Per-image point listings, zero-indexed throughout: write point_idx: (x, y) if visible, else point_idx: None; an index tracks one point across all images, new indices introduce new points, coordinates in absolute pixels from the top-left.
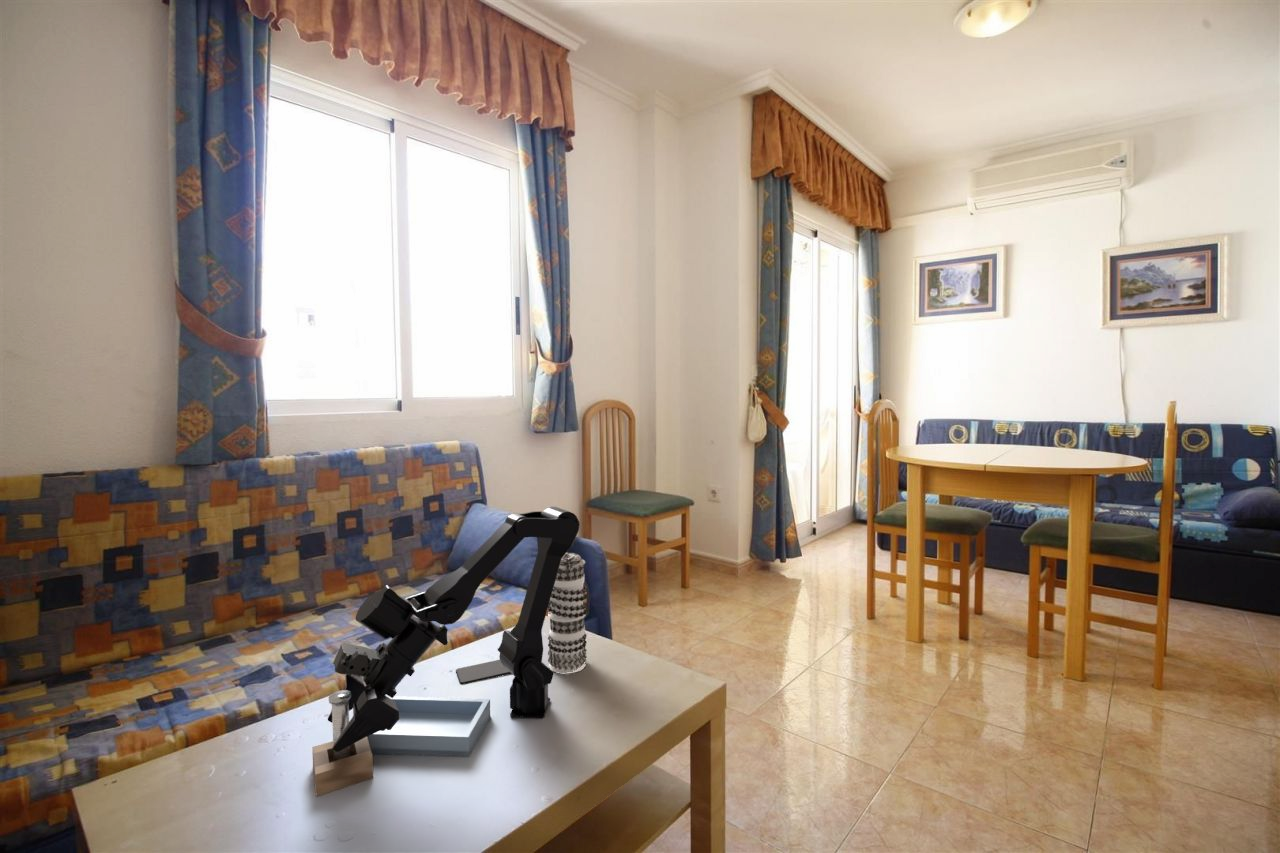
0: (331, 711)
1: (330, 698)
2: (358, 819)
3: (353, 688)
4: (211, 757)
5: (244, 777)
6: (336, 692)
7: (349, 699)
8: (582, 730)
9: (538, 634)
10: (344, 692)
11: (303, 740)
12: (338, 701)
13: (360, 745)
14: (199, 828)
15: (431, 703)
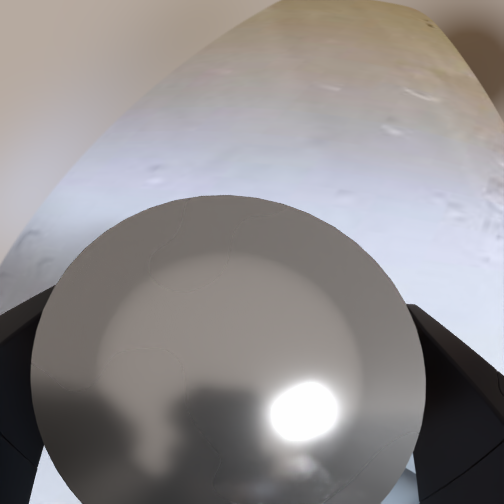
0: (436, 324)
1: (197, 222)
2: None
3: (494, 486)
4: (462, 105)
5: (372, 127)
6: (391, 366)
7: (450, 440)
8: None
9: None
10: (287, 499)
11: (469, 264)
12: (51, 334)
13: None
14: (229, 59)
15: None
